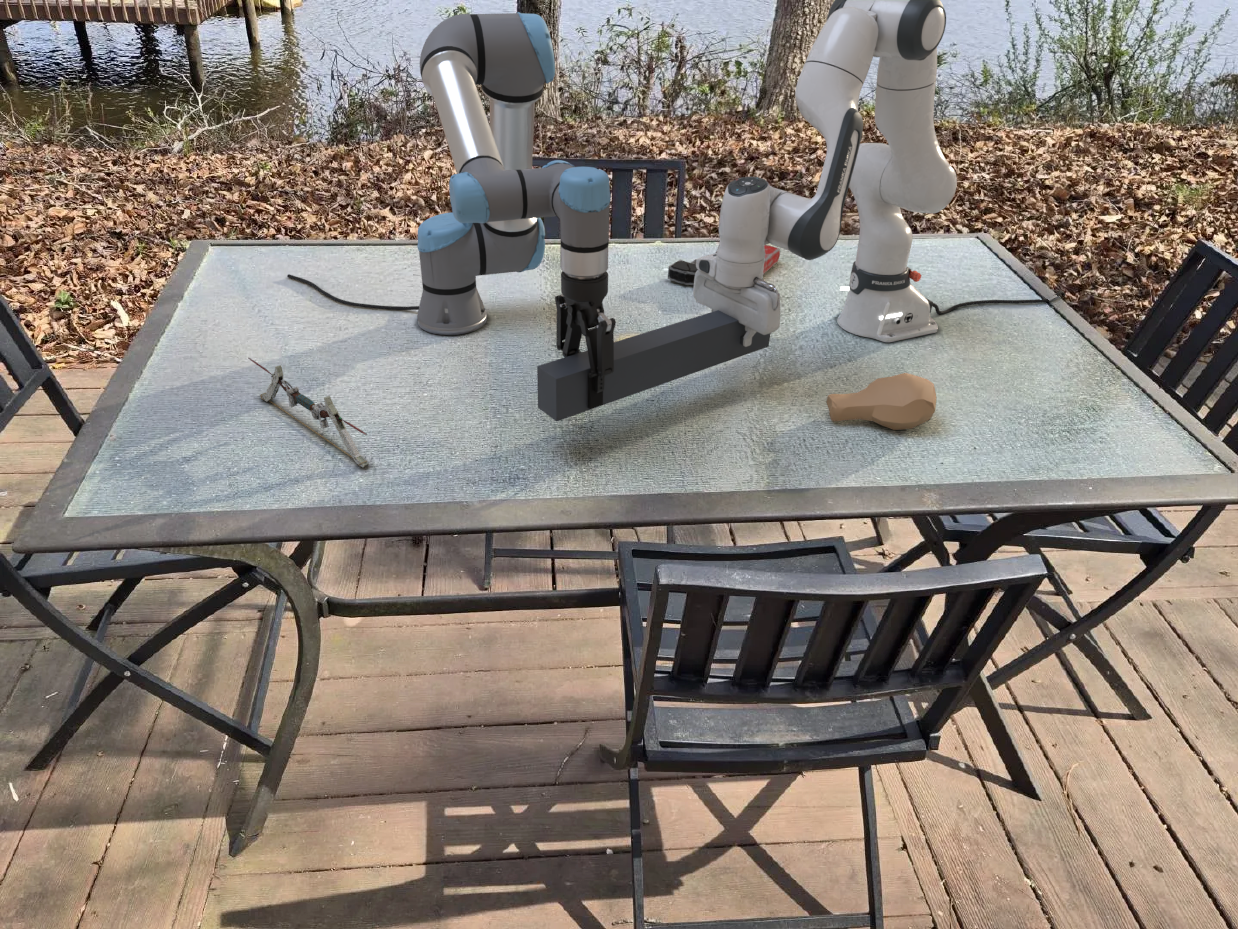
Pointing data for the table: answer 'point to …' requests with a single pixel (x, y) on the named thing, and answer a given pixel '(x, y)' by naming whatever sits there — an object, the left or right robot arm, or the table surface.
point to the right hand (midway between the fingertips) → (732, 338)
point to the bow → (313, 411)
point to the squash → (888, 402)
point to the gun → (686, 270)
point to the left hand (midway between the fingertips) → (584, 398)
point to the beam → (645, 362)
